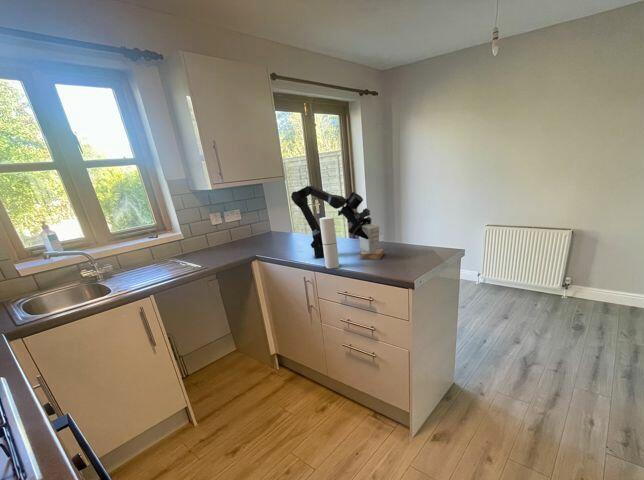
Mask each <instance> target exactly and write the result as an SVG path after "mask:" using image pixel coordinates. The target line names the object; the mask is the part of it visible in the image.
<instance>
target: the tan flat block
mask: <svg viewBox="0 0 644 480" xmlns="http://www.w3.org/2000/svg"><path fill="white" fill-rule="evenodd" d="M384 254H385V249H384V248H379V249H378V250H374V251H371V252H368V251H366V250H362V252H361V253H359V259H360V260H381V259H382V258H383V256H385V255H384Z"/></svg>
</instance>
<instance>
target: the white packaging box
mask: <svg viewBox="0 0 644 480" xmlns="http://www.w3.org/2000/svg"><path fill="white" fill-rule="evenodd" d="M362 230H363V231H364V232H365V234H366V235H367V236H368V239H365V238H362V237H360V236H359V239H360V241H359V243H360V244H359V245H360V250H362V251H364V250H366V251H368V252H371V251H374V250H378V249H380V226H379V225H375V224H372V223H371V224H367V225H363V226H362Z"/></svg>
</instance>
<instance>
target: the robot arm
mask: <svg viewBox="0 0 644 480" xmlns="http://www.w3.org/2000/svg"><path fill="white" fill-rule="evenodd" d="M310 195H311V196H313V197H315V198H317V199H319V200H322V201H324V202H326V203H327V204H328V205H329V206H330V207H332V208H333V209H335V210H337V216H339V217H340V216H343V217H344V218H345V219H346V220H347V221H346V222H347V223H348V224H351V226H350V227H349V228H348V233H349V234H350V235H353V236H357V237H359V238H360V237H362V238H365V239H368V236H367V235H366V234H365V232H364V231H363V230H362V226H363V225H367V224H372V222H373V221H372V220H373V219H372V218H371V217H370V215H371V210H369V208H367V207H366V208H364V209H362V211H361V212H359V211H355V210H357V209H358V208H359V206H360V205H361V204H362V202H363V201H364V198H363V197H362V196H361V195H360V194H358V193H356V192H355V191H352V192H351V193H350V195H349V196H348V198H345V197H344V196H343V195H338V194H332V193H329V192H327V191H324V190H322V189H320V188H318V187H315V186H314V185H313V184H310V185H306V186H305V187H302V188H300V189H299V190H295V191H292V193H291V195H290V198H291V200H292V202H293V203H294V205H295V206H297V207H298V208H299V209H300V211H301V213H302V215H303V217H304V218H305V221H306V223H307V225H308V226H309V228H310V230H311V235H312V242H311V243H310V246H311V247H310V248H312V249H313V254H314V259H320V258H324V250H323V242H322V235H321V227H320V224H319V223H318V221H317V219H316V217H315V216H314V214H313V212H312V209H311V207H310V205H309V202H308V201H309V200H308V199H309V198H308V197H309V196H310ZM338 209H339V210H338Z"/></svg>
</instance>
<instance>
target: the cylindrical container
mask: <svg viewBox="0 0 644 480" xmlns="http://www.w3.org/2000/svg"><path fill="white" fill-rule="evenodd" d="M335 225H336V223H335V217H334V216H324V217H320V218H319V227H320V228H321V235H322V242H323V250H324V257H323V258H324V264H325V268H326V269H329V270H330V269H336V268H339V267H340V258H339V252H338V245H337V244H338V242H337V232H336V228H335V227H336V226H335Z"/></svg>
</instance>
